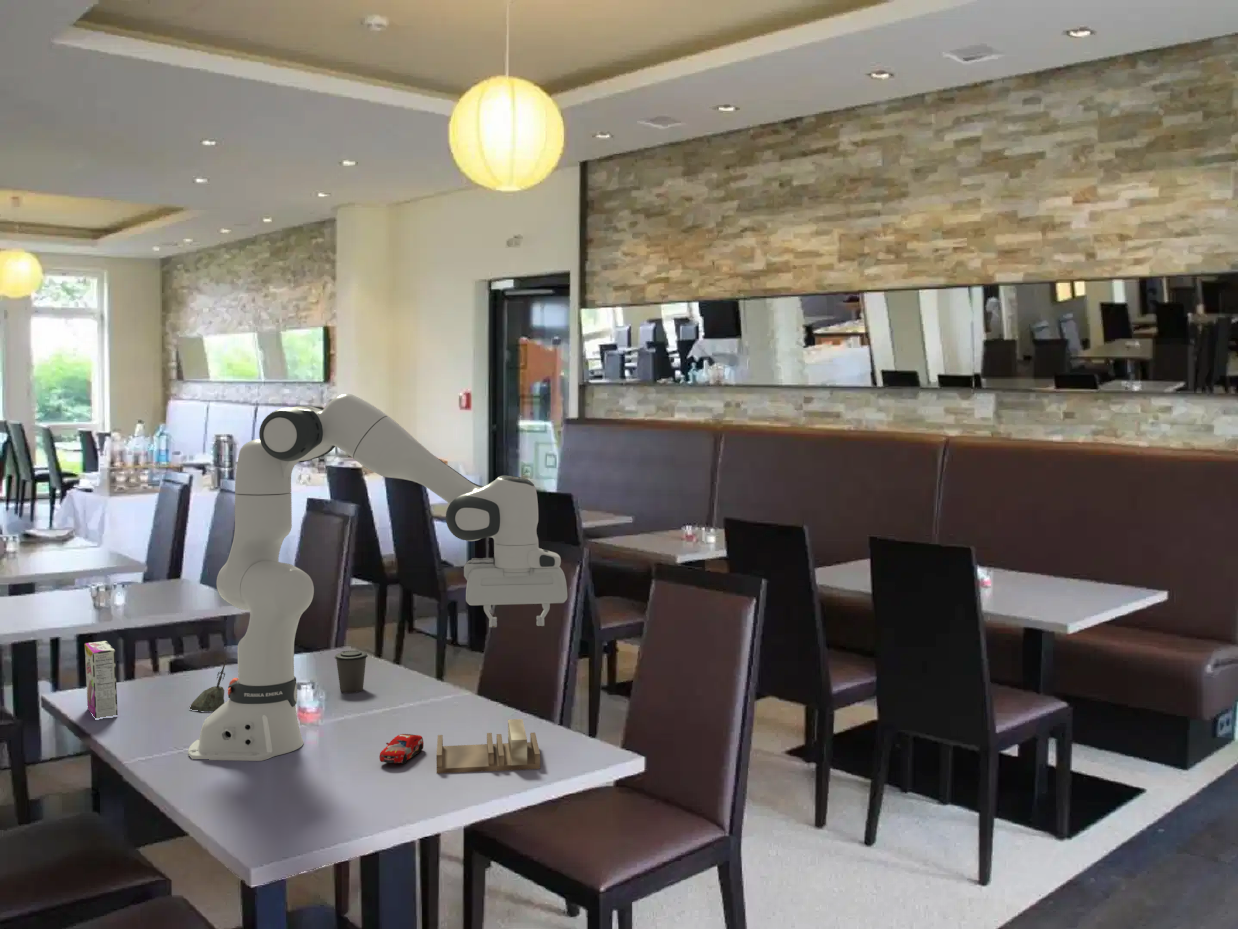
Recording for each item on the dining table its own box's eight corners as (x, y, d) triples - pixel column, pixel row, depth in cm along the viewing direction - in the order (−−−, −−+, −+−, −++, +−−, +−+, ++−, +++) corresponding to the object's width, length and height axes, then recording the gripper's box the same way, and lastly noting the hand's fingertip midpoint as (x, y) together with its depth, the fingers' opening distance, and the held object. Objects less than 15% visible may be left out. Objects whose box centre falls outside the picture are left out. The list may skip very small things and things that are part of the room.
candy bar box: (85, 713, 257) (83, 643, 256) (109, 709, 260) (107, 640, 259) (94, 724, 248) (92, 652, 247) (118, 721, 251) (116, 649, 250)
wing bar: (511, 765, 217) (511, 740, 217) (508, 743, 231) (508, 719, 230) (527, 764, 217) (527, 739, 217) (522, 742, 231) (522, 719, 231)
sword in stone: (191, 719, 253) (189, 666, 252) (184, 710, 260) (183, 659, 259) (236, 712, 258) (235, 661, 258) (228, 704, 265) (227, 654, 264)
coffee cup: (334, 689, 278) (333, 649, 277) (367, 686, 280) (366, 647, 280) (335, 697, 270) (335, 656, 270) (370, 694, 273) (369, 654, 272)
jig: (436, 774, 215) (436, 756, 215) (438, 751, 229) (437, 734, 229) (540, 769, 218) (539, 751, 218) (535, 746, 232) (535, 730, 231)
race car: (400, 768, 217) (400, 747, 216) (374, 765, 218) (375, 745, 218) (428, 749, 229) (428, 730, 229) (403, 747, 231) (404, 727, 231)
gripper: (463, 560, 217) (464, 630, 218) (568, 558, 220) (568, 627, 221) (463, 556, 223) (464, 624, 224) (565, 554, 226) (565, 621, 227)
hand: (516, 626), depth 222 cm, fingers open, 8 cm apart
